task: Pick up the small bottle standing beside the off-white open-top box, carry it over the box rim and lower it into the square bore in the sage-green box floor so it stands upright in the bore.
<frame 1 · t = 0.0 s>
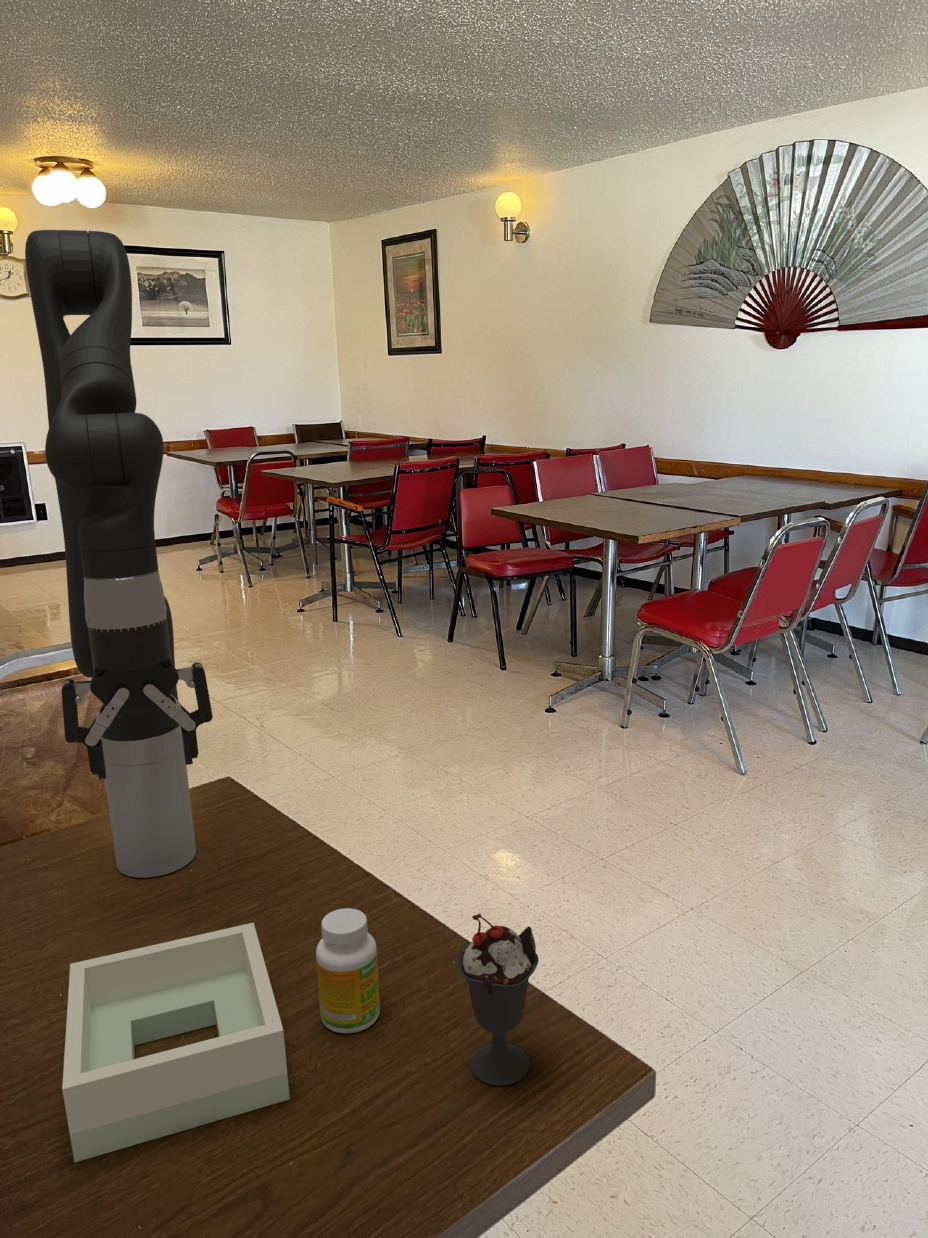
hand: (146, 769, 95), 17 cm above the table, tool pointing down, fingers open, 8 cm apart
bore box: (178, 1061, 78), on the table
sundae: (499, 1067, 76), on the table
supplement bottle: (350, 1017, 83), on the table
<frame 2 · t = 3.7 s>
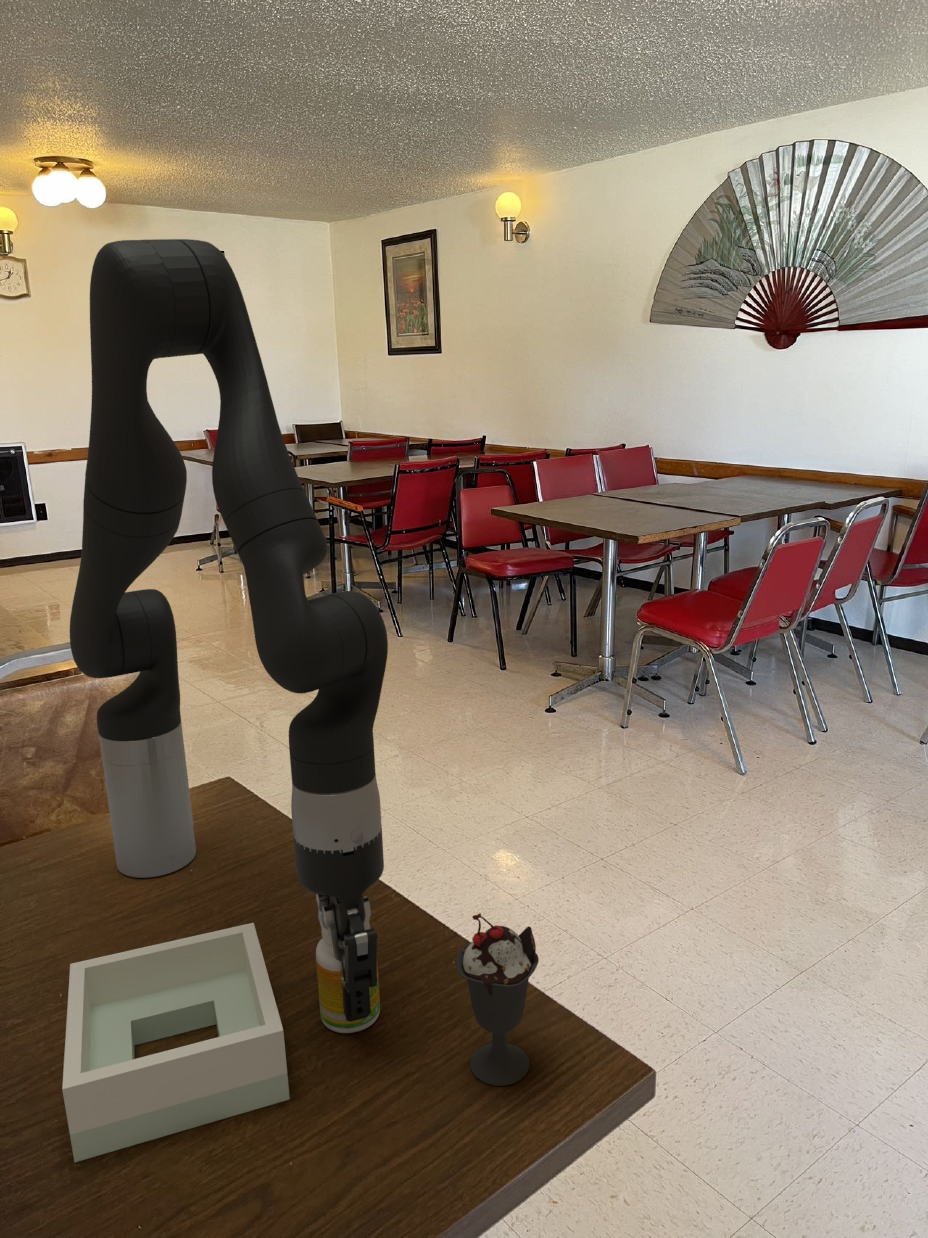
hand: (349, 995, 82), 2 cm above the table, tool pointing down, fingers closed on supplement bottle, 5 cm apart
supplement bottle: (350, 1016, 83), on the table, touching gripper
everything else where it was.
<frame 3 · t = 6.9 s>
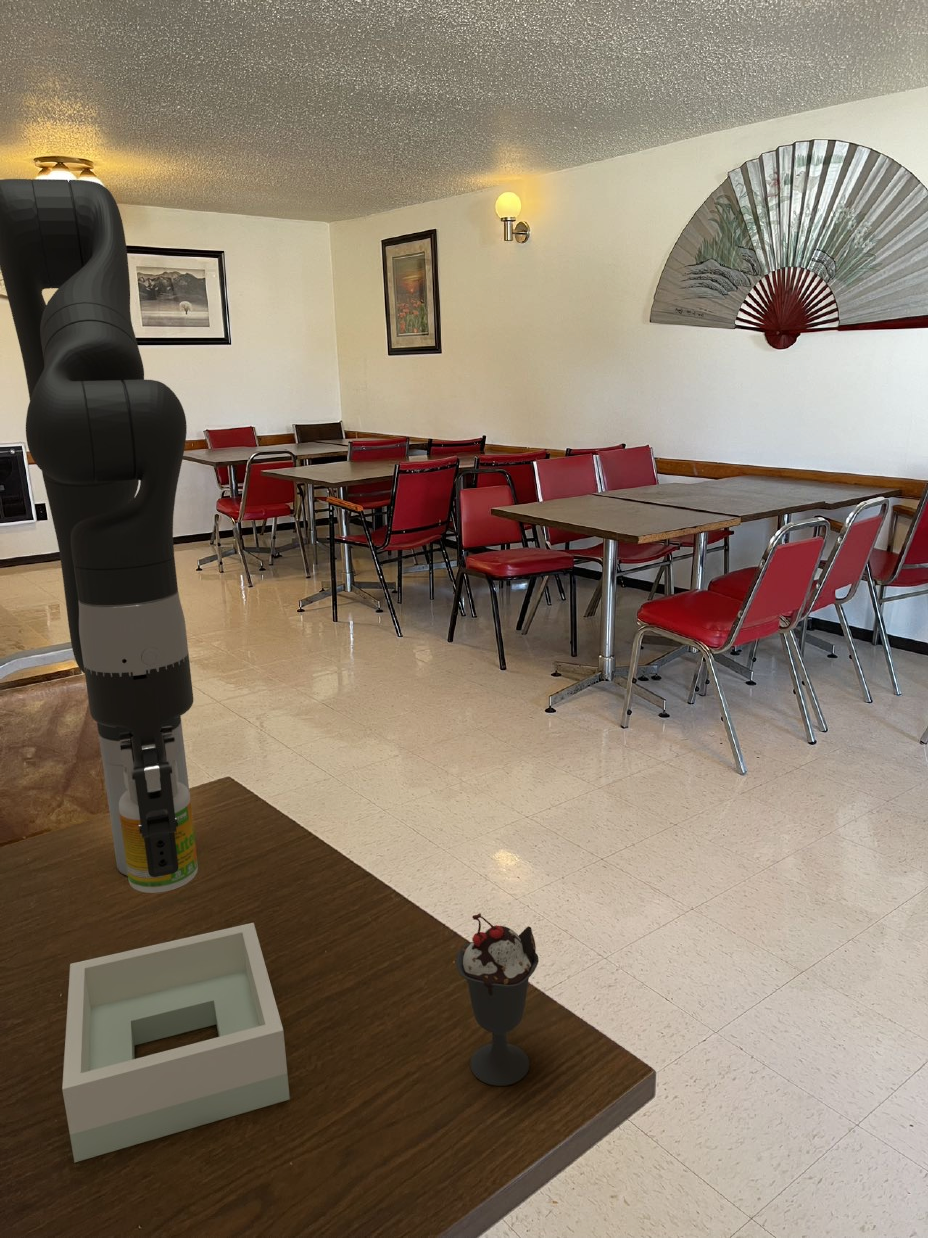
hand: (161, 854, 73), 19 cm above the table, tool pointing down, fingers closed on supplement bottle, 5 cm apart
supplement bottle: (164, 879, 74), point 17 cm above the table, touching gripper
everything else where it was.
when the fingers open (4 cm above the table, at t = 10.3 s): supplement bottle drops 2 cm, resting in bore box.
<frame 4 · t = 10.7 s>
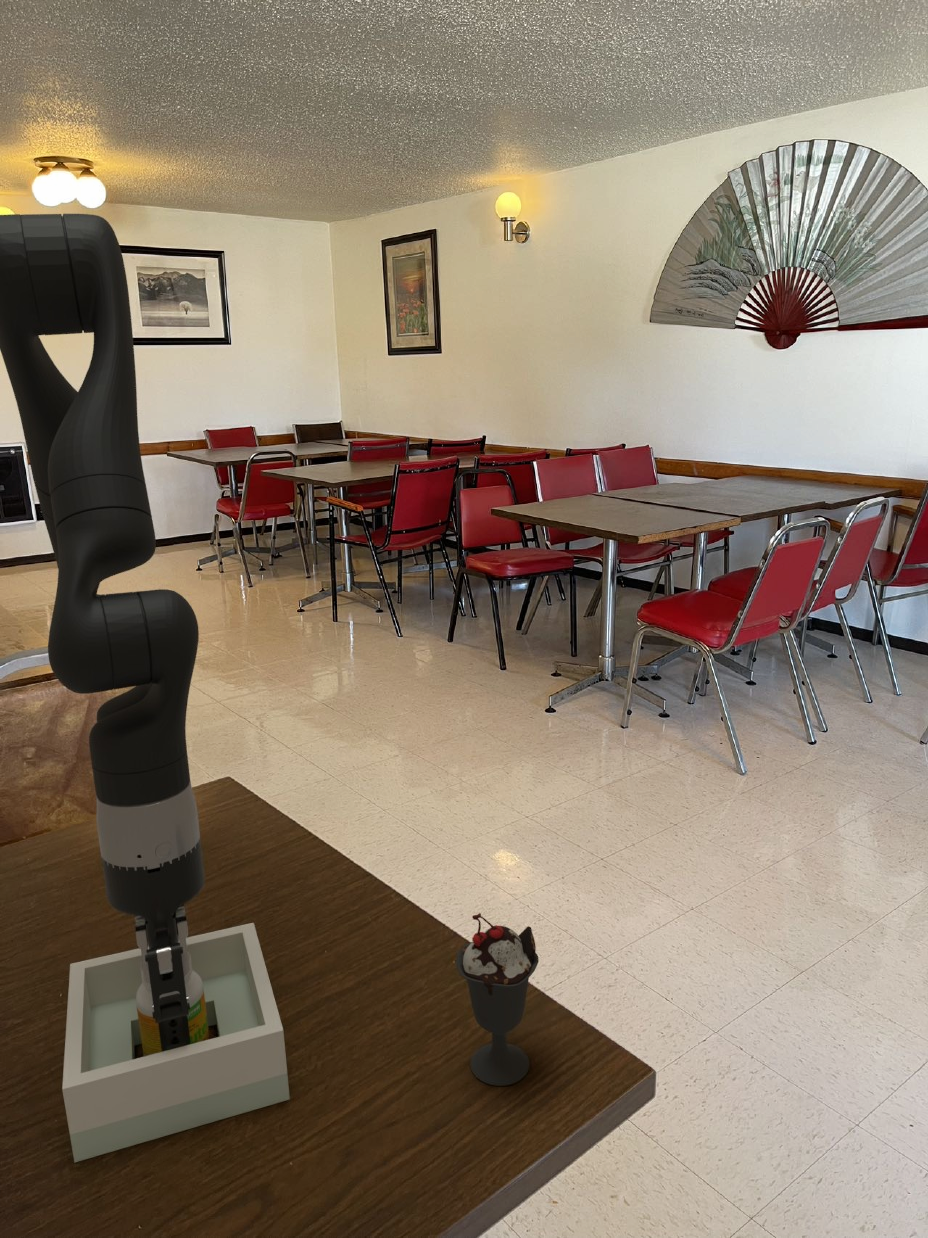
hand: (172, 1014, 77), 5 cm above the table, tool pointing down, fingers open, 8 cm apart
supplement bottle: (178, 1062, 78), resting in bore box
everything else where it was.
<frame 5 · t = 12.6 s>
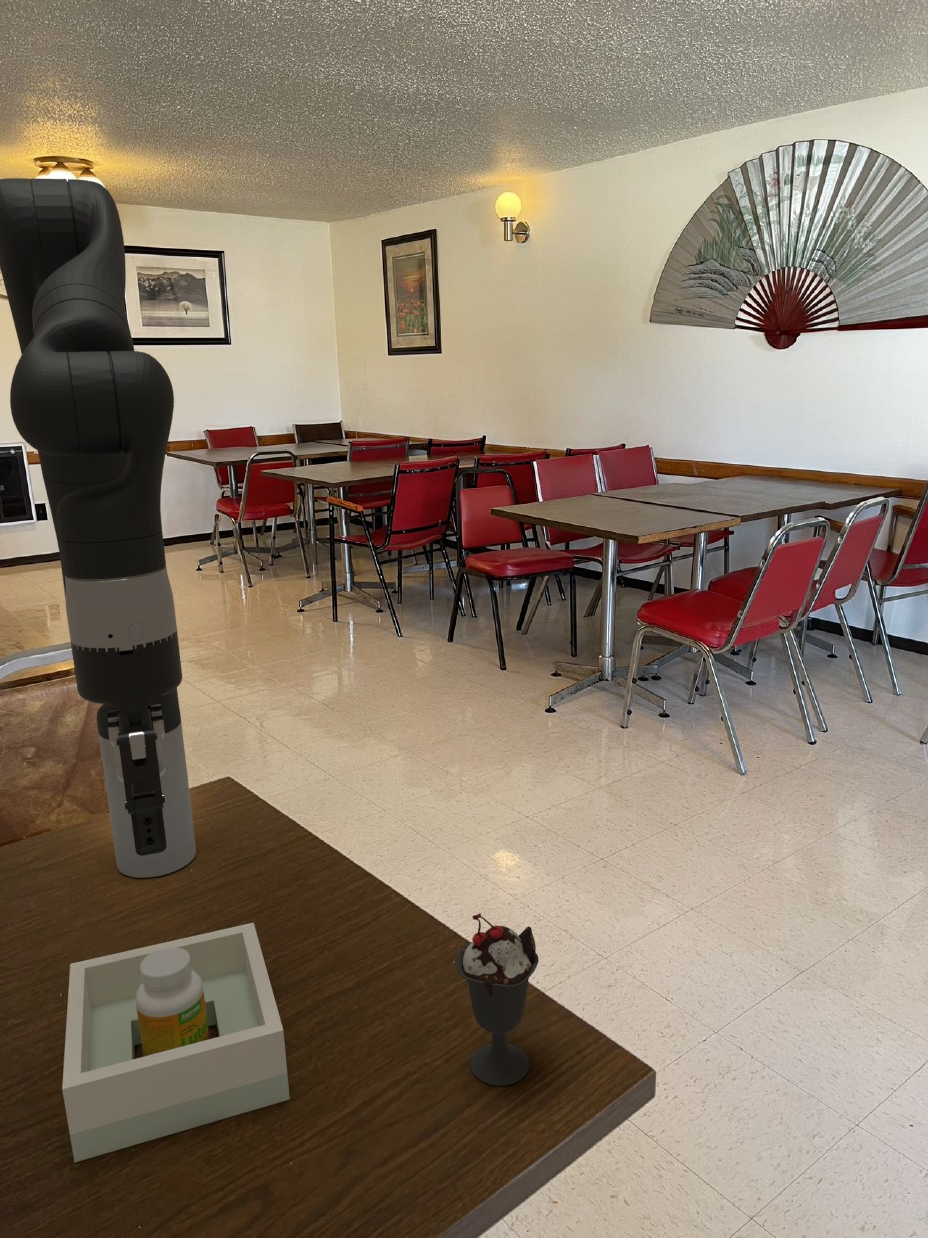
hand: (149, 827, 72), 22 cm above the table, tool pointing down, fingers open, 8 cm apart
nothing on the table moved.
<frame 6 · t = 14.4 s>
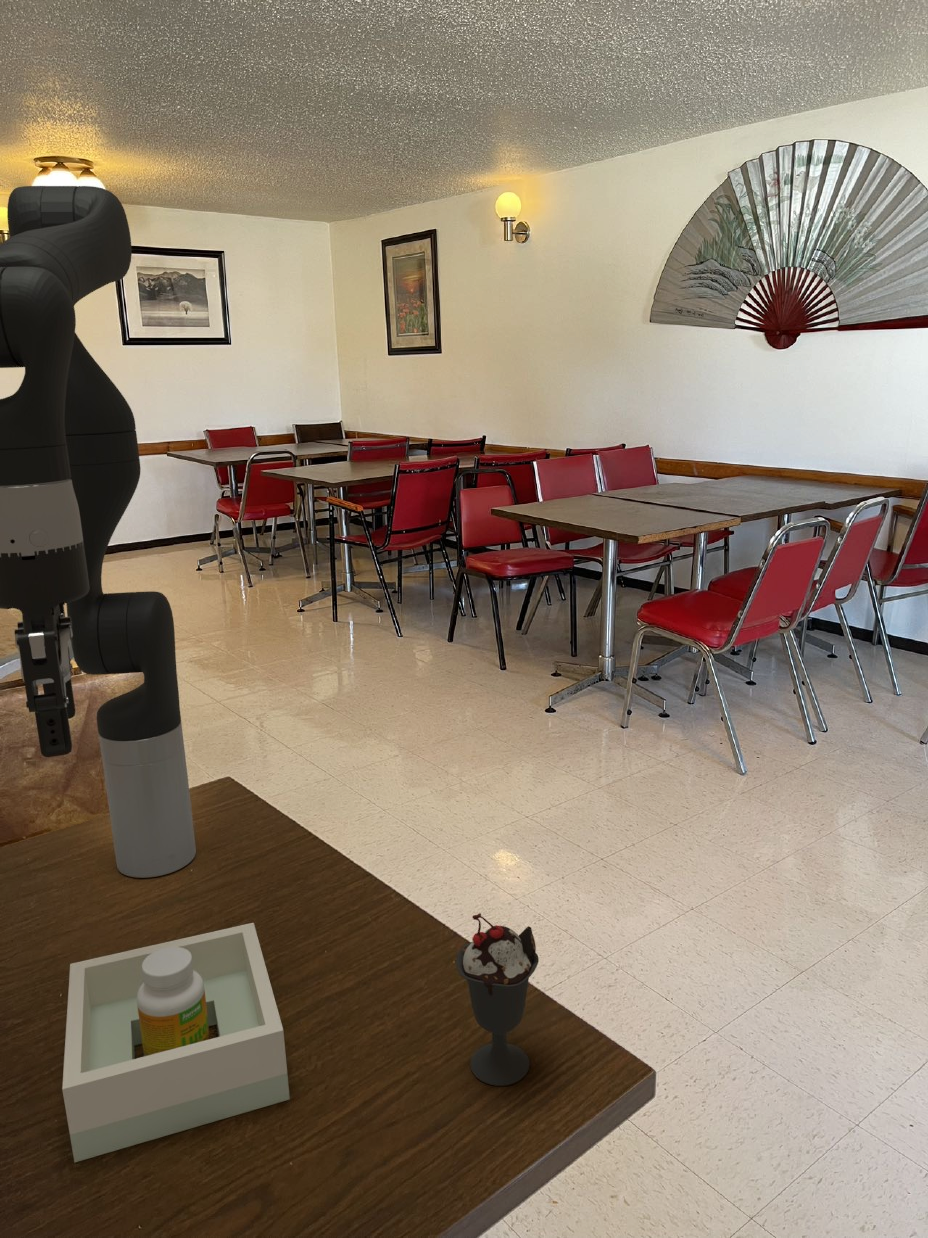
hand: (60, 735, 75), 28 cm above the table, tool pointing down, fingers open, 8 cm apart
nothing on the table moved.
at the end: supplement bottle 0.1 cm off-centre on the bore box, point 0.0 cm above the bore box's base; supplement bottle tilted 1°; the gripper is holding nothing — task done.
